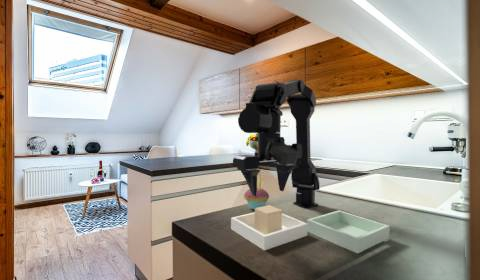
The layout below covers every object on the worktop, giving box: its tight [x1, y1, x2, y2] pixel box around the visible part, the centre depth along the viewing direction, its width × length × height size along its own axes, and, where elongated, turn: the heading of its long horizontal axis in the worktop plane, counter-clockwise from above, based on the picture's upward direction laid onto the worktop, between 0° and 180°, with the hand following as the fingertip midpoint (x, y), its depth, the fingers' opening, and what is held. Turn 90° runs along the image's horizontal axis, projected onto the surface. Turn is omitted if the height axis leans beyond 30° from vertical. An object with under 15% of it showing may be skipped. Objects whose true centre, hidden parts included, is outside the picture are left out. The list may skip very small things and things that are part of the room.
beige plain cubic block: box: [254, 204, 283, 235], centre depth 63 cm, size 5×5×6 cm
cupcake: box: [243, 174, 270, 210], centre depth 83 cm, size 9×8×12 cm
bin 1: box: [230, 211, 309, 251], centre depth 63 cm, size 14×14×4 cm
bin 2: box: [306, 210, 391, 254], centre depth 62 cm, size 14×14×4 cm
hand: (268, 193), depth 63 cm, fingers open, 9 cm apart
